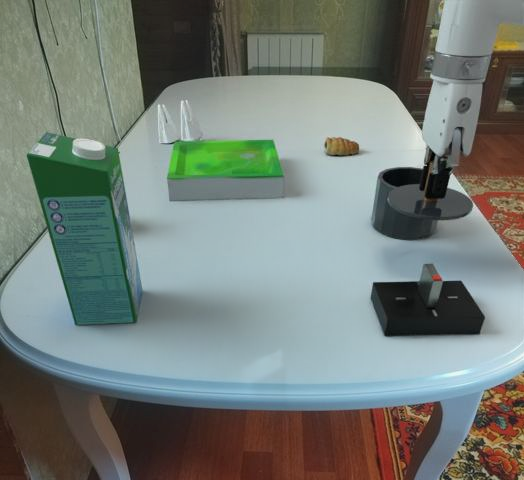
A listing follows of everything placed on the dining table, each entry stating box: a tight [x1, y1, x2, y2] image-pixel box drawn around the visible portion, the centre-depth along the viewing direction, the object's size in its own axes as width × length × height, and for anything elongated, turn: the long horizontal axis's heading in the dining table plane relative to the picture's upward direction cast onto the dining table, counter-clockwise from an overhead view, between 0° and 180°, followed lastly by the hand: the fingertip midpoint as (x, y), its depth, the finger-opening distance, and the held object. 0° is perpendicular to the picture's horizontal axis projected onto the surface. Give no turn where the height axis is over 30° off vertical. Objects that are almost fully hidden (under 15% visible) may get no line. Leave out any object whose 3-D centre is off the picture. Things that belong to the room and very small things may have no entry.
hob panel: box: [370, 279, 486, 337], centre depth 76 cm, size 14×10×3 cm
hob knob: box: [418, 262, 444, 308], centre depth 74 cm, size 5×1×5 cm, turn 2°
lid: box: [388, 161, 474, 221], centre depth 82 cm, size 14×14×7 cm
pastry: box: [323, 136, 360, 156], centre depth 135 cm, size 9×7×4 cm
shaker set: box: [157, 99, 204, 145], centre depth 139 cm, size 12×4×11 cm, turn 81°
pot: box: [370, 166, 439, 241], centre depth 98 cm, size 13×13×10 cm
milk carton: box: [26, 131, 143, 326], centre depth 71 cm, size 9×9×25 cm
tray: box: [166, 139, 285, 202], centre depth 120 cm, size 25×25×5 cm
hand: (431, 193), depth 83 cm, fingers closed on lid, 2 cm apart
